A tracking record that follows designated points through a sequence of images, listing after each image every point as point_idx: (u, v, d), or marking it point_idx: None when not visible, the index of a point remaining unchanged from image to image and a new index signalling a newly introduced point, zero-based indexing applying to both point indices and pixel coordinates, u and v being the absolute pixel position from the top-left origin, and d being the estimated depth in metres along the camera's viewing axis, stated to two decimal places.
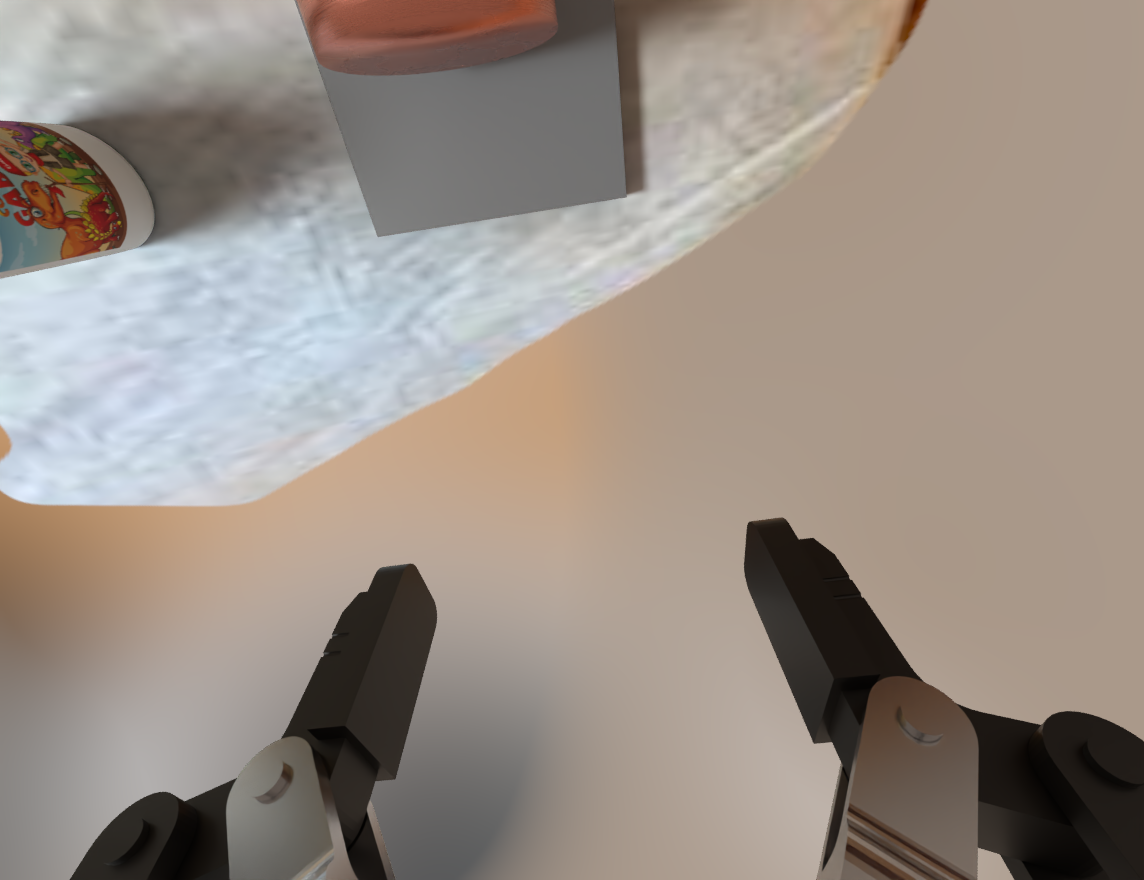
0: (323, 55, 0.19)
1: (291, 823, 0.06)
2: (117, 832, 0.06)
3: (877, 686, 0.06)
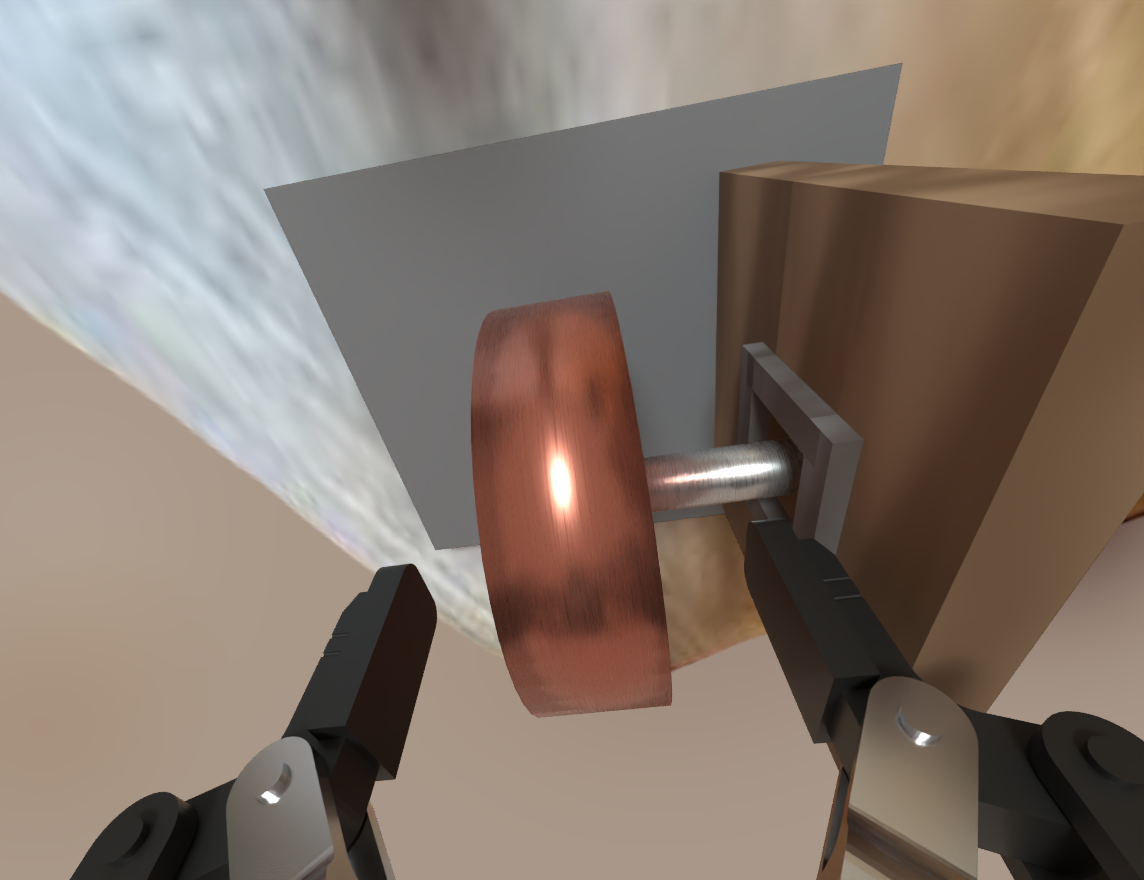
0: None
1: (291, 823, 0.06)
2: (117, 832, 0.06)
3: (877, 686, 0.06)
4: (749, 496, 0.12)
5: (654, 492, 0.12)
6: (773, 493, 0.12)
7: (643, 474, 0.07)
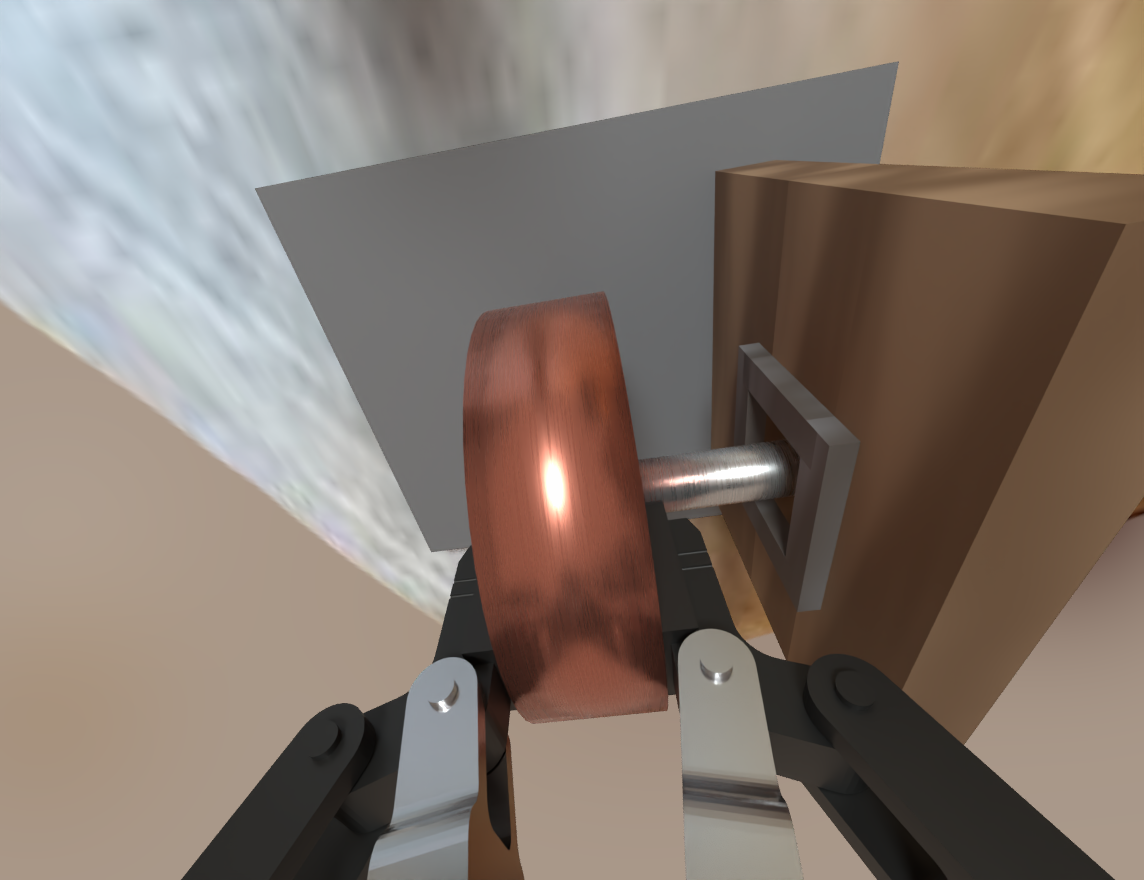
0: None
1: (474, 725, 0.07)
2: (320, 729, 0.07)
3: (690, 636, 0.07)
4: (746, 498, 0.12)
5: (650, 494, 0.12)
6: (770, 495, 0.12)
7: (638, 478, 0.07)
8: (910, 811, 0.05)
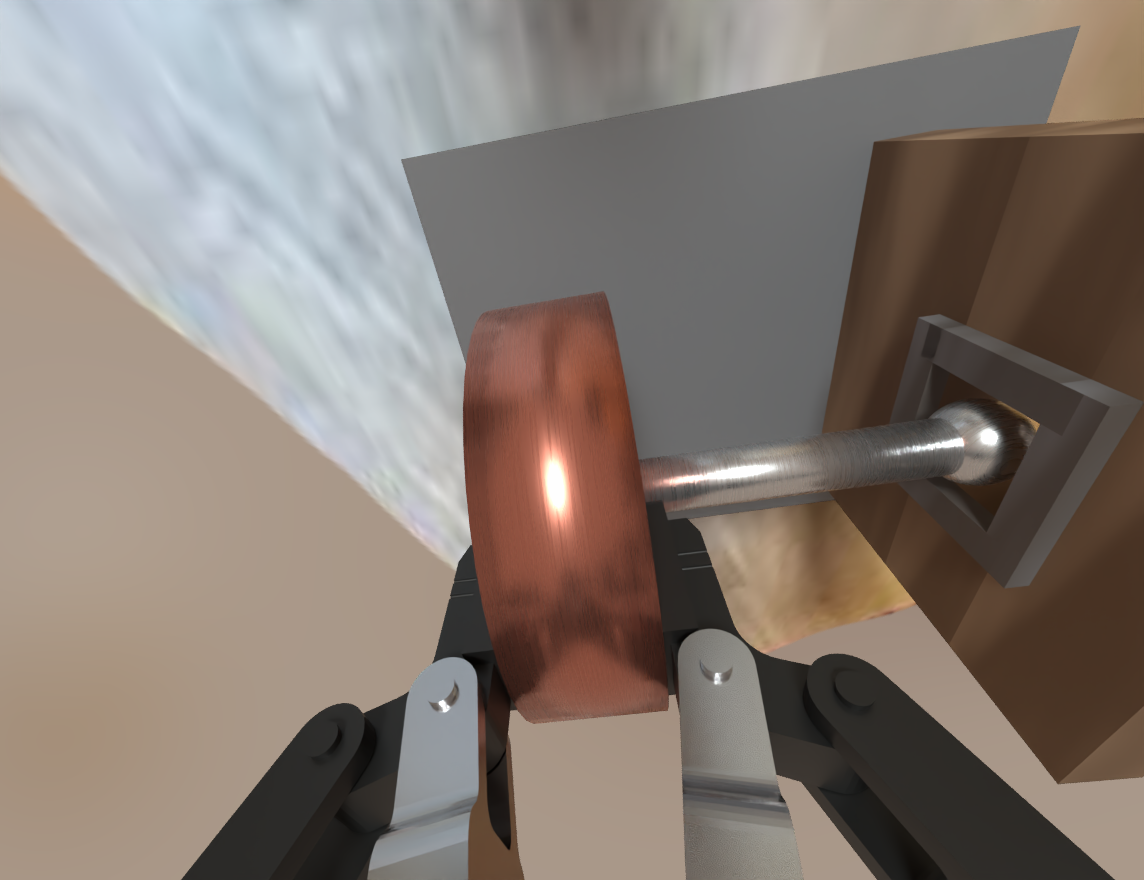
0: None
1: (474, 725, 0.07)
2: (320, 728, 0.07)
3: (690, 636, 0.07)
4: (746, 497, 0.12)
5: (650, 494, 0.12)
6: (770, 495, 0.12)
7: (638, 477, 0.07)
8: (910, 811, 0.05)
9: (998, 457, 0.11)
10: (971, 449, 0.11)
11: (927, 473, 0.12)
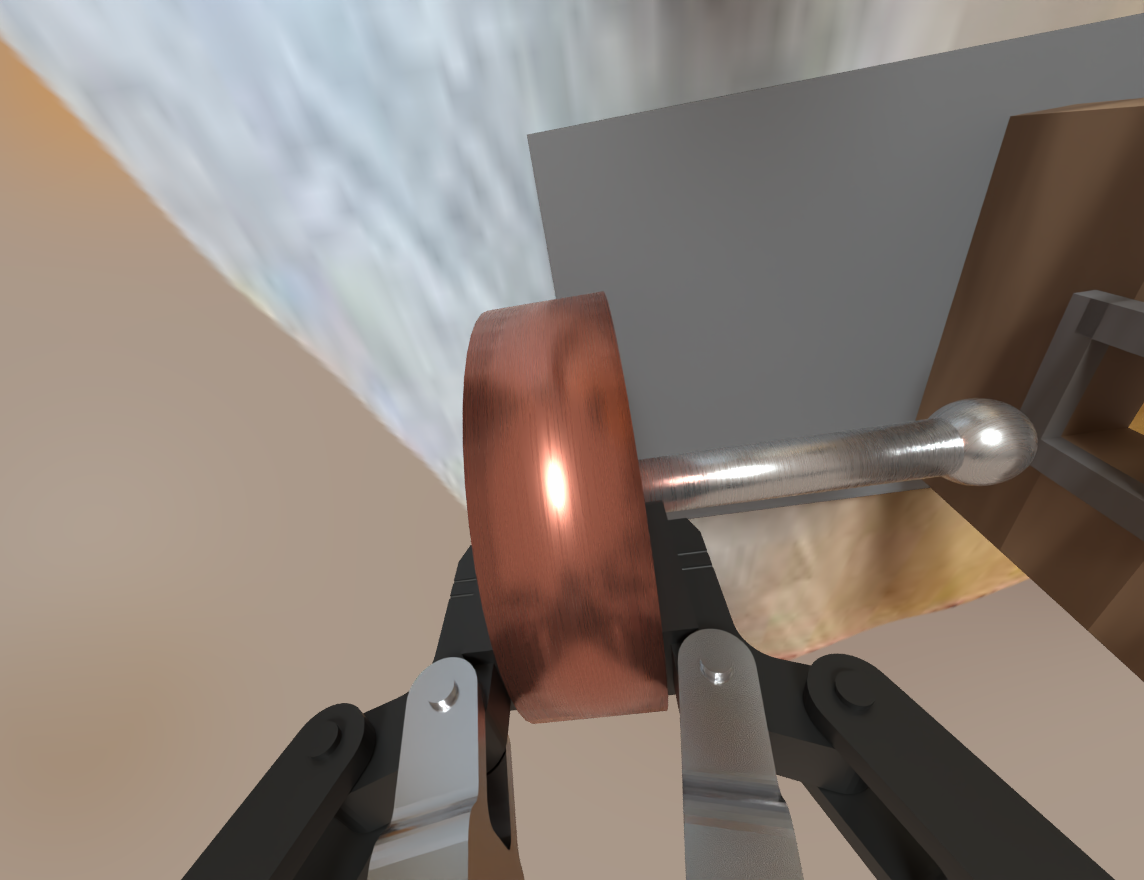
0: None
1: (474, 725, 0.07)
2: (319, 728, 0.07)
3: (690, 636, 0.07)
4: (746, 498, 0.12)
5: (650, 494, 0.12)
6: (770, 495, 0.12)
7: (638, 478, 0.07)
8: (910, 811, 0.05)
9: (998, 456, 0.11)
10: (971, 449, 0.11)
11: (927, 473, 0.12)
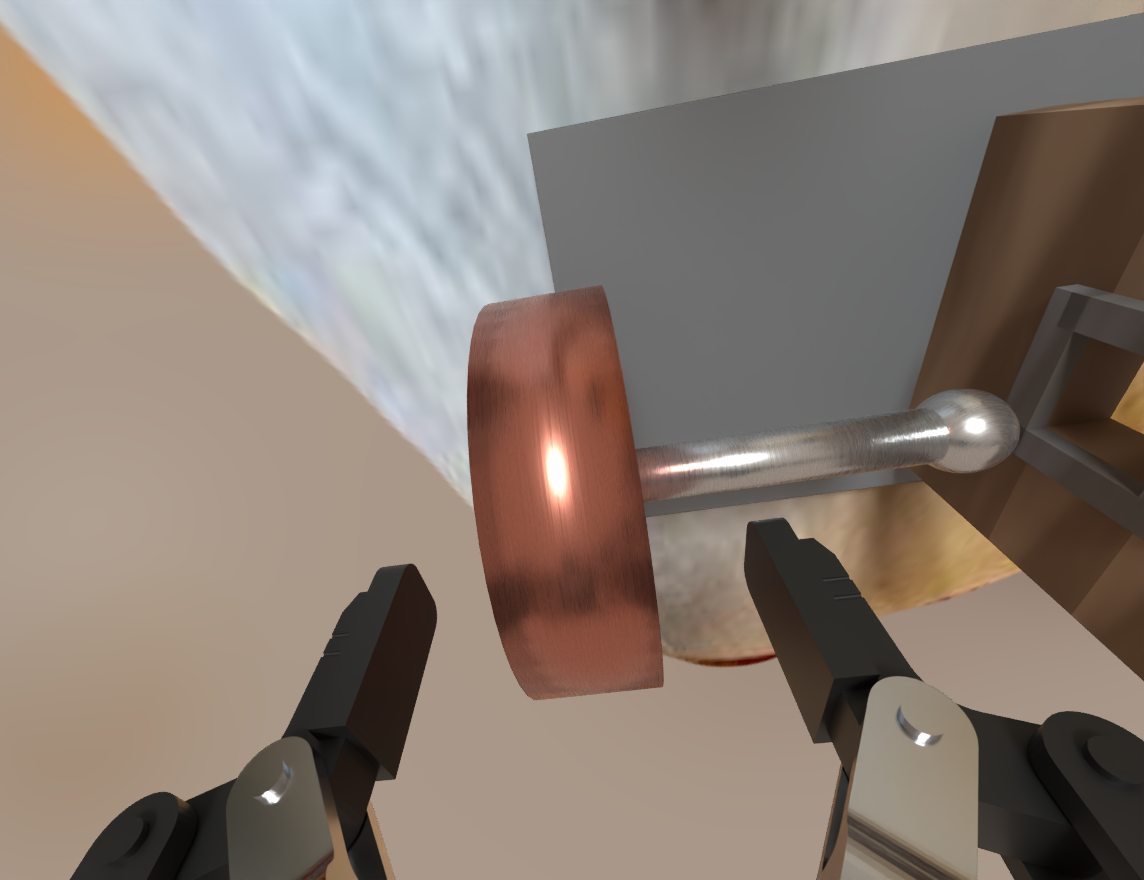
0: None
1: (291, 823, 0.06)
2: (117, 832, 0.06)
3: (877, 686, 0.06)
4: (739, 485, 0.12)
5: (647, 482, 0.12)
6: (763, 482, 0.12)
7: (634, 459, 0.08)
8: None
9: (981, 444, 0.11)
10: (955, 437, 0.12)
11: (913, 461, 0.12)
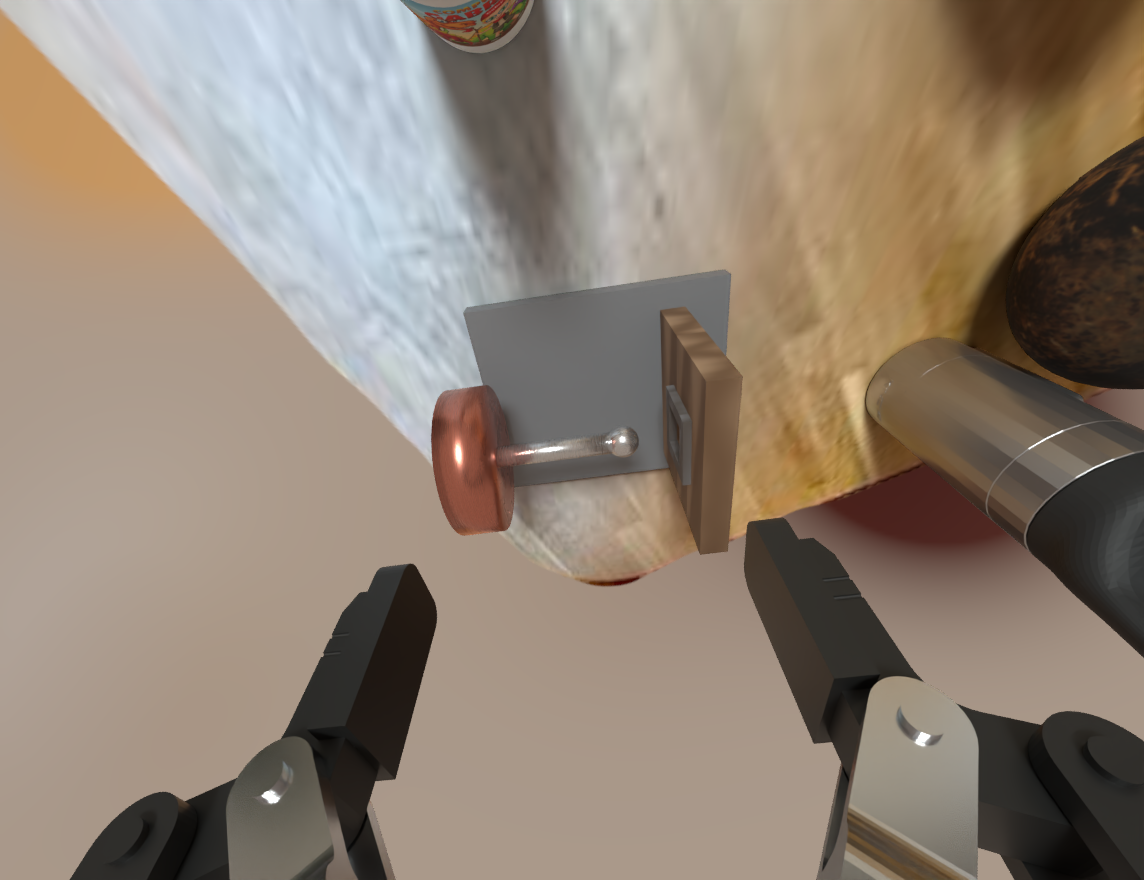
0: None
1: (291, 823, 0.06)
2: (117, 832, 0.06)
3: (877, 686, 0.06)
4: (538, 460, 0.33)
5: (503, 458, 0.33)
6: (547, 459, 0.33)
7: (477, 448, 0.28)
8: None
9: (619, 446, 0.32)
10: (612, 443, 0.32)
11: (601, 452, 0.33)
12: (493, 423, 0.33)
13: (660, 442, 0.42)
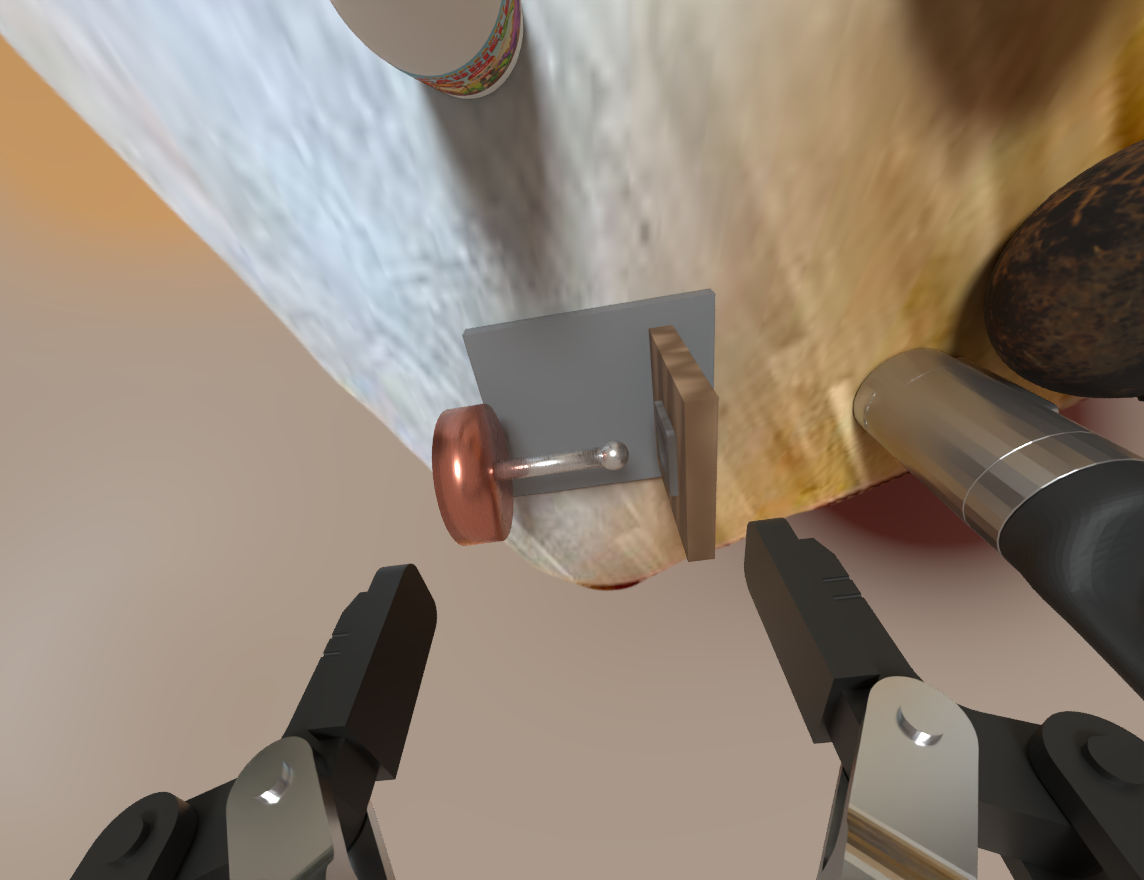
0: None
1: (291, 823, 0.06)
2: (117, 832, 0.06)
3: (877, 686, 0.06)
4: (534, 474, 0.35)
5: (500, 472, 0.35)
6: (542, 473, 0.35)
7: (474, 465, 0.30)
8: None
9: (609, 460, 0.34)
10: (603, 457, 0.34)
11: (593, 465, 0.34)
12: (491, 439, 0.35)
13: (653, 452, 0.44)
